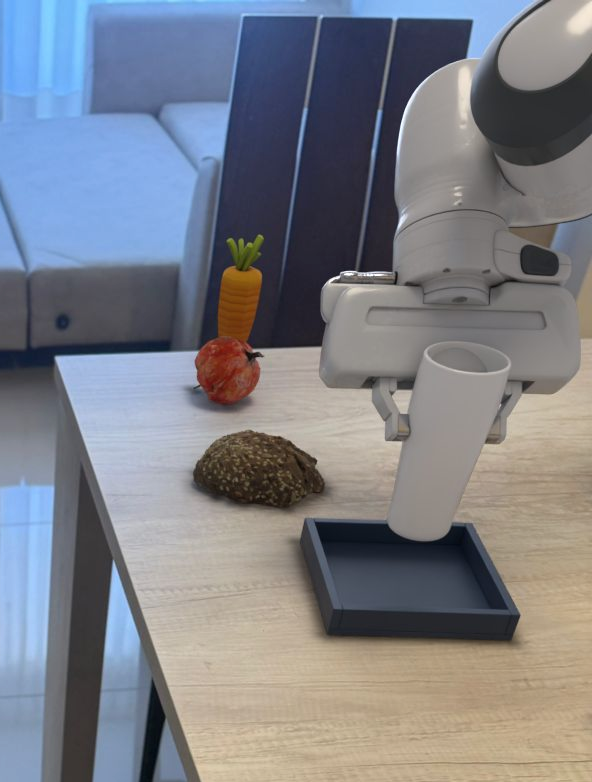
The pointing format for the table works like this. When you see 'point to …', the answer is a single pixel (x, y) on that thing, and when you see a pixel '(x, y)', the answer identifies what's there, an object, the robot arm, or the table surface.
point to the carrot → (240, 291)
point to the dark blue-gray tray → (405, 582)
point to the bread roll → (258, 470)
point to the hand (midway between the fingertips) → (445, 440)
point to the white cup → (444, 439)
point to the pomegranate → (227, 369)
